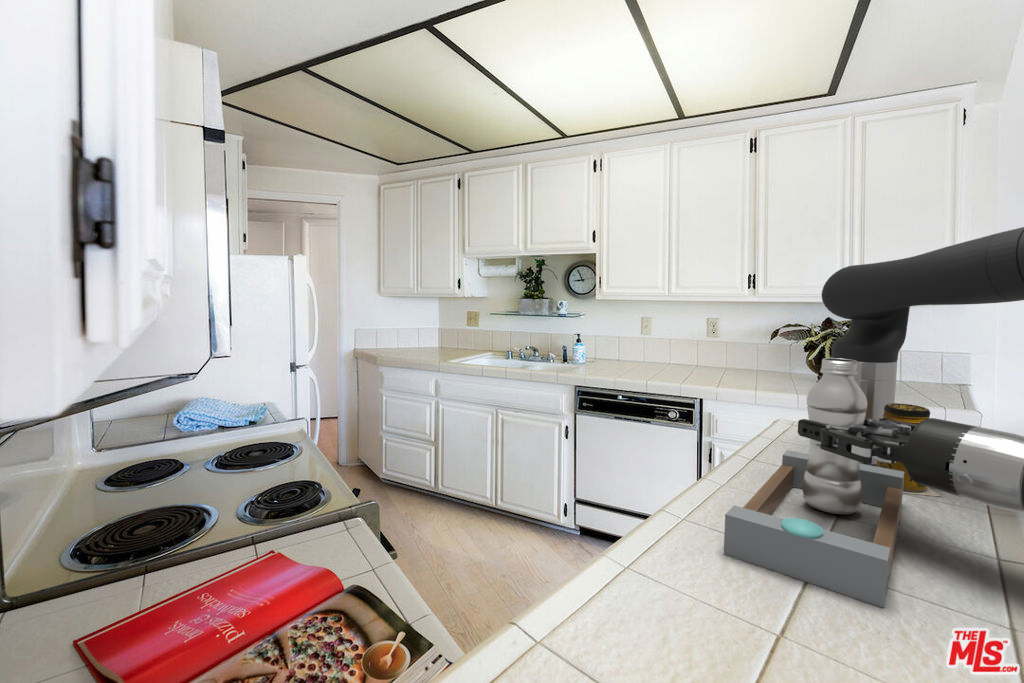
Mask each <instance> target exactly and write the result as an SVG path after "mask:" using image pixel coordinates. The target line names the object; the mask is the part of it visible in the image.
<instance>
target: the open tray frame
mask: <svg viewBox="0 0 1024 683" xmlns="http://www.w3.org/2000/svg"><path fill="white" fill-rule="evenodd" d="M793 468H794V467H792V466H787V465H782V464H780V466H779V467H778V469H776V471H775V472H774V473H773V474H772V475H771V476H770V477H769V478H768V479H767V481H766V482H765V483H764V484H763V485H762V486H761V487H760V488H759V489H758V491H756V493H754V495H753V496H752V497H751V498H750V499H749V501H747V503H745V505H744V506H743V507H742V508H746V509H749V510H753V511H757V512H760V513H764V514H768V515H771V516H772V514H773V513H774V512H775V510H776V509H777V508H778V507H779V505H780V504H781V502H782V501H783V500H784V498H785V497H786V496H787V494H788V493H789V492H790V491H791V489H792V488H793ZM901 500H902V501H903V496H902V489H899V488H894V487H889V486H888V487H887V491H886V495H885V499H884V503H883V507H881V510H880V511H881V512H880V514H879V520H878V523H877V526H876V531H875V535H874V538H873V542H872V543H875V544H878V545H882V546H886V547H889V548H890V556H889V569H888V582H887V589H888V587H889V581H890V576H891V571H892V563H893V559H894V552H895V546H896V542H897V536H898V529H899V528H898V527H899V524H900V517H901V512H902V506H901Z"/></svg>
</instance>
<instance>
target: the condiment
mask: <svg viewBox="0 0 1024 683" xmlns="http://www.w3.org/2000/svg"><path fill="white" fill-rule="evenodd" d="M930 411H931V410H930V409H929V408H927V407H925V406H921V405H915V404H909V403H897V402H896V403H891V404H887V405H885V407H884V414H883V417H884V418H887V419H890V420H895V421H900V422H906V423H911V424H916V425H918V424H919V423H920V422H921V421H923V420H925V419H929V418H931V416H930V415H931V412H930ZM876 467H882V468H887V469H892V470H898V471H903V472H904V483H903V493H904V494H911V495H920V496H930V497H941V496H942V495H941V494H939V493H938V492H936V491H934V490H933V489H932V488H930V487H927V486H923V485H920V484H918V483H916V482H914V481H913V480H912V479H911V478H910V476H909V475H908V473H907V470H906V468H905V466H904V465H903V464H902V463H901V462H896V463H886V462H881V461H878V460H877V464H876Z"/></svg>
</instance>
